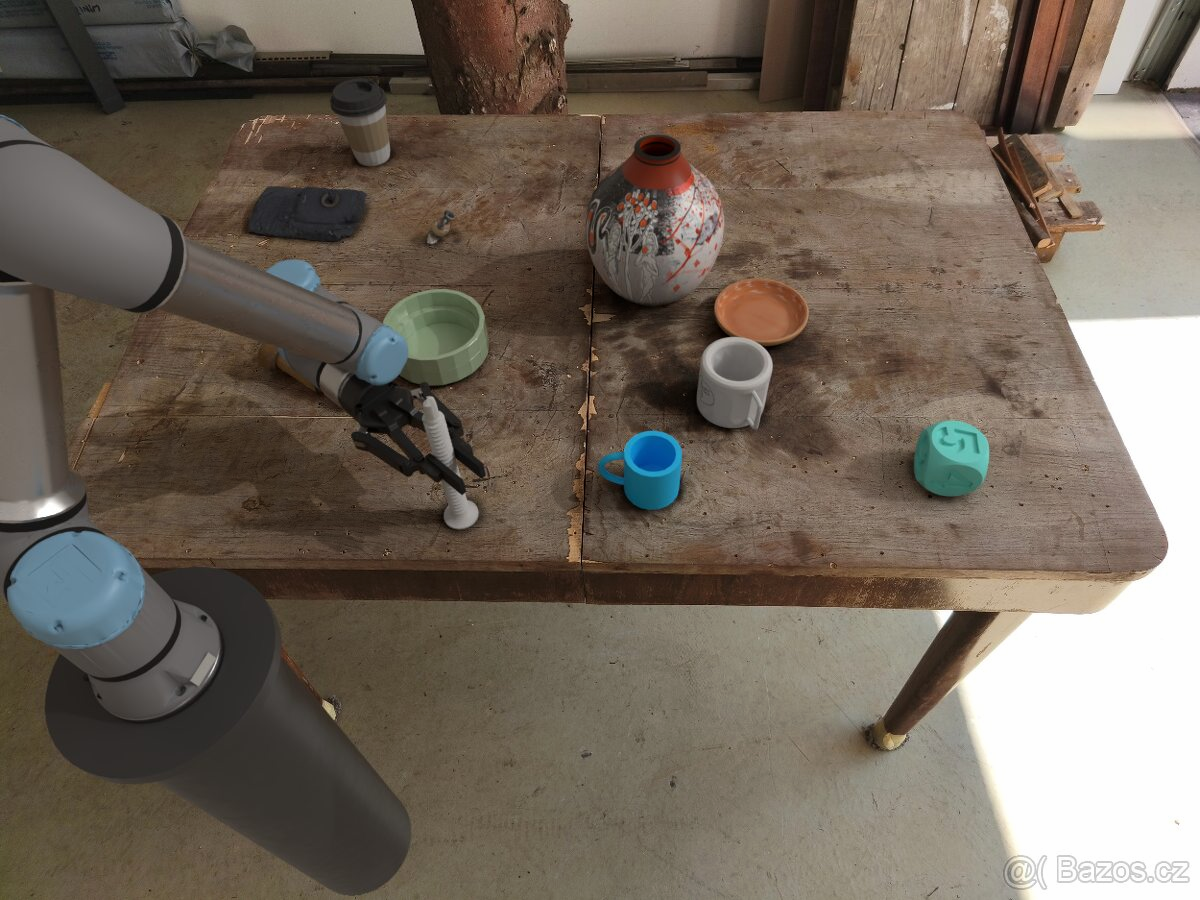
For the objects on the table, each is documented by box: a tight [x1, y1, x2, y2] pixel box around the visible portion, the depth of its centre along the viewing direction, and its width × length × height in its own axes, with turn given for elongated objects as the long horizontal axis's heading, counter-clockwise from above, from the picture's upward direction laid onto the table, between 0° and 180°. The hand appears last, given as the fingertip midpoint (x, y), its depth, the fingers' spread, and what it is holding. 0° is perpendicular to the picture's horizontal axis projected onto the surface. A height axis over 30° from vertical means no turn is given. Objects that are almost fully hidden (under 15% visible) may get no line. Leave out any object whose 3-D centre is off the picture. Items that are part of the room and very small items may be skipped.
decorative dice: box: [913, 419, 990, 497], centre depth 116 cm, size 8×8×8 cm
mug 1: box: [597, 430, 683, 511], centre depth 116 cm, size 12×8×8 cm
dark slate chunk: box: [247, 185, 368, 242], centre depth 160 cm, size 15×22×5 cm
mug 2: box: [696, 336, 774, 430], centre depth 124 cm, size 14×11×10 cm
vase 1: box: [426, 209, 456, 245], centre depth 154 cm, size 5×5×6 cm
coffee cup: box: [329, 77, 391, 167], centre depth 168 cm, size 11×11×15 cm
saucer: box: [713, 277, 810, 347], centre depth 139 cm, size 16×16×3 cm
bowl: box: [382, 288, 490, 387], centre depth 135 cm, size 17×17×7 cm
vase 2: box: [584, 133, 725, 307], centre depth 135 cm, size 23×23×28 cm
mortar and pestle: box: [256, 342, 322, 393], centre depth 131 cm, size 7×6×18 cm
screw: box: [422, 396, 479, 530], centre depth 107 cm, size 5×26×5 cm
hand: (472, 479), depth 104 cm, fingers closed on screw, 3 cm apart
